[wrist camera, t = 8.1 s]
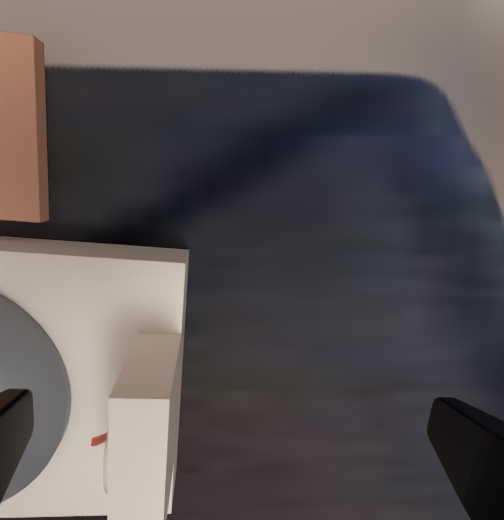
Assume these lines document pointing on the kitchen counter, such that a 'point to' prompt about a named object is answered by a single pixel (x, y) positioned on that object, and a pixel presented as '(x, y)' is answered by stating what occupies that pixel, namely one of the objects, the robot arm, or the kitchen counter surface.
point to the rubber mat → (23, 129)
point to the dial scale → (94, 375)
